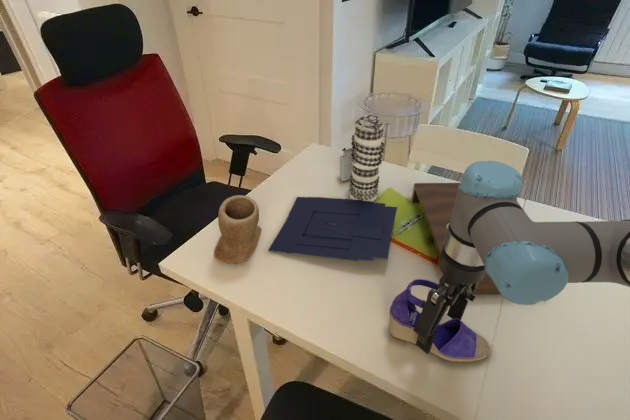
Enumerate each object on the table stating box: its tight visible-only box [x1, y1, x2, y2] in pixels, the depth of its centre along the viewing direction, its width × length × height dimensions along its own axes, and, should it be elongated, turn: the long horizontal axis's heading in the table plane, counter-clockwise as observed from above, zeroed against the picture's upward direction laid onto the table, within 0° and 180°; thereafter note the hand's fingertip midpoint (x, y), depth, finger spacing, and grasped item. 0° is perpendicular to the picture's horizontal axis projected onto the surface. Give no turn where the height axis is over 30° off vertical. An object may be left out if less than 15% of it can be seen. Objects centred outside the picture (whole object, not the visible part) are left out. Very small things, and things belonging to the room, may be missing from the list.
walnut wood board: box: [411, 182, 502, 296], centre depth 96 cm, size 36×22×6 cm, turn 0°
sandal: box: [388, 278, 491, 364], centre depth 70 cm, size 8×20×15 cm, turn 69°
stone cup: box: [213, 194, 262, 265], centre depth 92 cm, size 15×12×15 cm
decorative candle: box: [348, 114, 386, 202], centre depth 106 cm, size 9×9×25 cm
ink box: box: [339, 147, 353, 182], centre depth 119 cm, size 12×2×12 cm, turn 115°
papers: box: [268, 196, 398, 262], centre depth 100 cm, size 24×30×4 cm
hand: (438, 332), depth 74 cm, fingers closed on sandal, 10 cm apart
